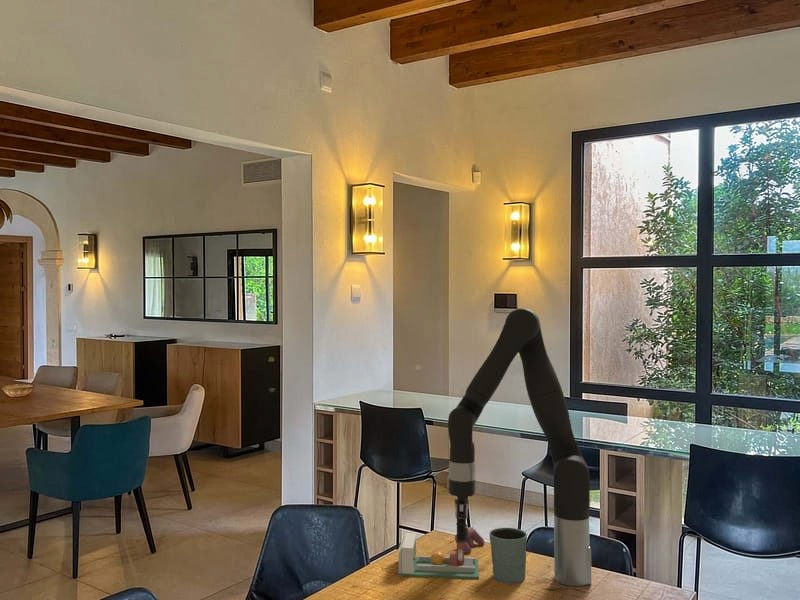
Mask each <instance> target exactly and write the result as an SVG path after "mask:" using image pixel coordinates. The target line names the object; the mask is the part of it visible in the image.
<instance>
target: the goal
mask: <svg viewBox="0 0 800 600" xmlns="http://www.w3.org/2000/svg"><path fill="white" fill-rule="evenodd" d="M399 545H400V546H399V548H398V572H399V573H404V574H413V559H416V557H417V532H405V536H404V535H403V536H402V539H401V542H400V544H399Z"/></svg>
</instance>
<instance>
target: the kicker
mask: <svg viewBox="0 0 800 600" xmlns="http://www.w3.org/2000/svg"><path fill="white" fill-rule="evenodd" d="M468 526H469V525H468V524H466V527H465V540H464V541H463V540H458V539H457V543H456V550H450V551H449V557H450V566H473V560H472V559H464V557H465V552H464V542H465V543H468Z"/></svg>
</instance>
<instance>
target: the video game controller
mask: <svg viewBox="0 0 800 600" xmlns="http://www.w3.org/2000/svg"><path fill="white" fill-rule="evenodd" d="M454 542H455V543H456V544H457V533H456V534H455V536H454ZM474 543H476V544H478V545H479V546H481V545H482V546H484V545H485V540H484V538H483V537H482V535H480V534H479V533H478V532H477V530H476V529H475V528H473V526H471V527H468V543H465V542H464V553H466V554H468V553H469V554H471V553H472V548H471V547H473V546H474V545H475V544H474Z"/></svg>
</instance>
